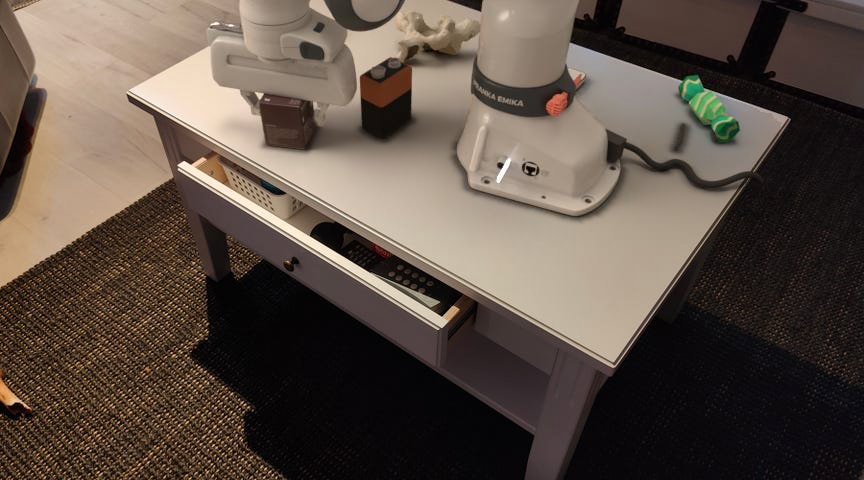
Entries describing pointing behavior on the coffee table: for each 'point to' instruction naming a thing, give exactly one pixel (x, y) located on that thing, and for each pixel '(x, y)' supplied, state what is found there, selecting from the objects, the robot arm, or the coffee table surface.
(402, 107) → the battery
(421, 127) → the coffee table surface
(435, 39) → the decorative object
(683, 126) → the stick
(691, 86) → the candy
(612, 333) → the coffee table surface
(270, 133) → the box
